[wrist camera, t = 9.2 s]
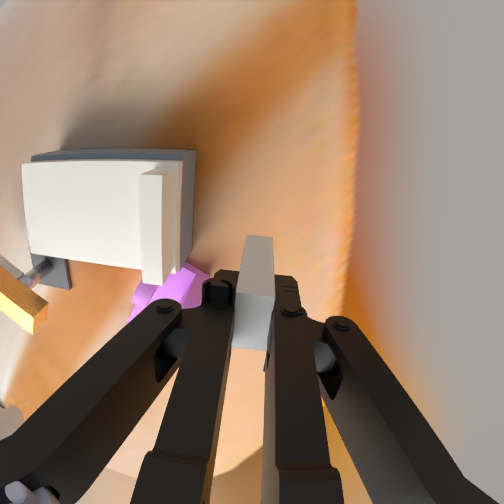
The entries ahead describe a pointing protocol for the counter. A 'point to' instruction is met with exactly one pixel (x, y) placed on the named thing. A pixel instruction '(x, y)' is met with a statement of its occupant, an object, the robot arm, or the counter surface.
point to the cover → (106, 212)
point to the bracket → (172, 290)
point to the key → (23, 294)
